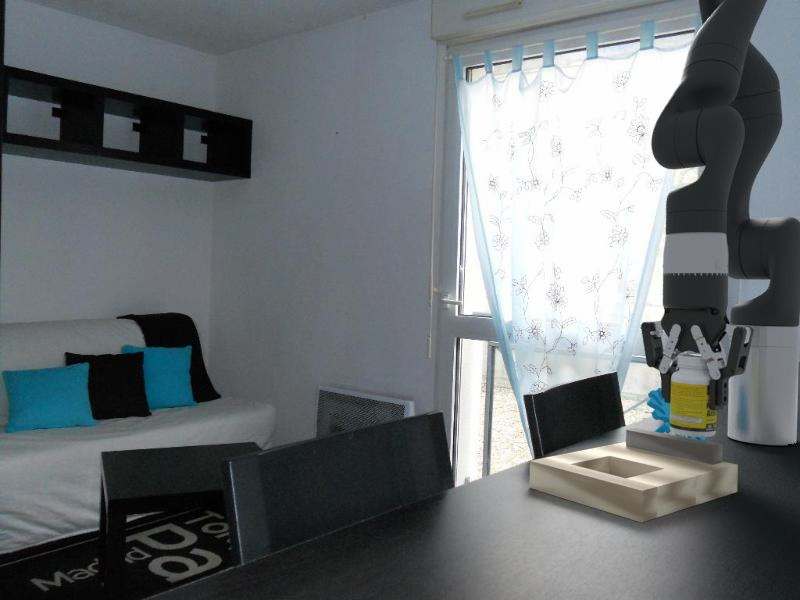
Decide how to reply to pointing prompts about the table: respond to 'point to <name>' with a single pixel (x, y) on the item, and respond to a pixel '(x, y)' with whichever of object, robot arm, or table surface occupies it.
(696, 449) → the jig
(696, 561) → the table surface
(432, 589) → the table surface
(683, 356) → the supplement bottle
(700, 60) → the robot arm
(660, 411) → the blue lobed piece
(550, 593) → the table surface
